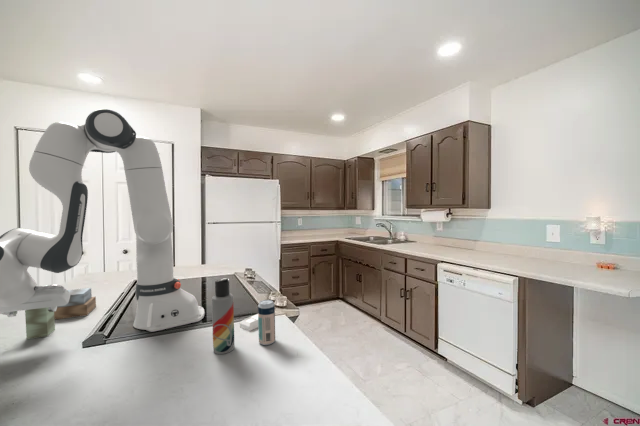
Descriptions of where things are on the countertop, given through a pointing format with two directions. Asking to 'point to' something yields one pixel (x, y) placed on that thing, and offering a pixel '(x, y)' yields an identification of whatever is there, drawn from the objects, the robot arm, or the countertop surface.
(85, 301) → the pedestal
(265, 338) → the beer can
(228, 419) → the countertop surface
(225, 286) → the lotion bottle
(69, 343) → the countertop surface
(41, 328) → the green brick
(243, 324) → the soap bar
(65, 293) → the robot arm
